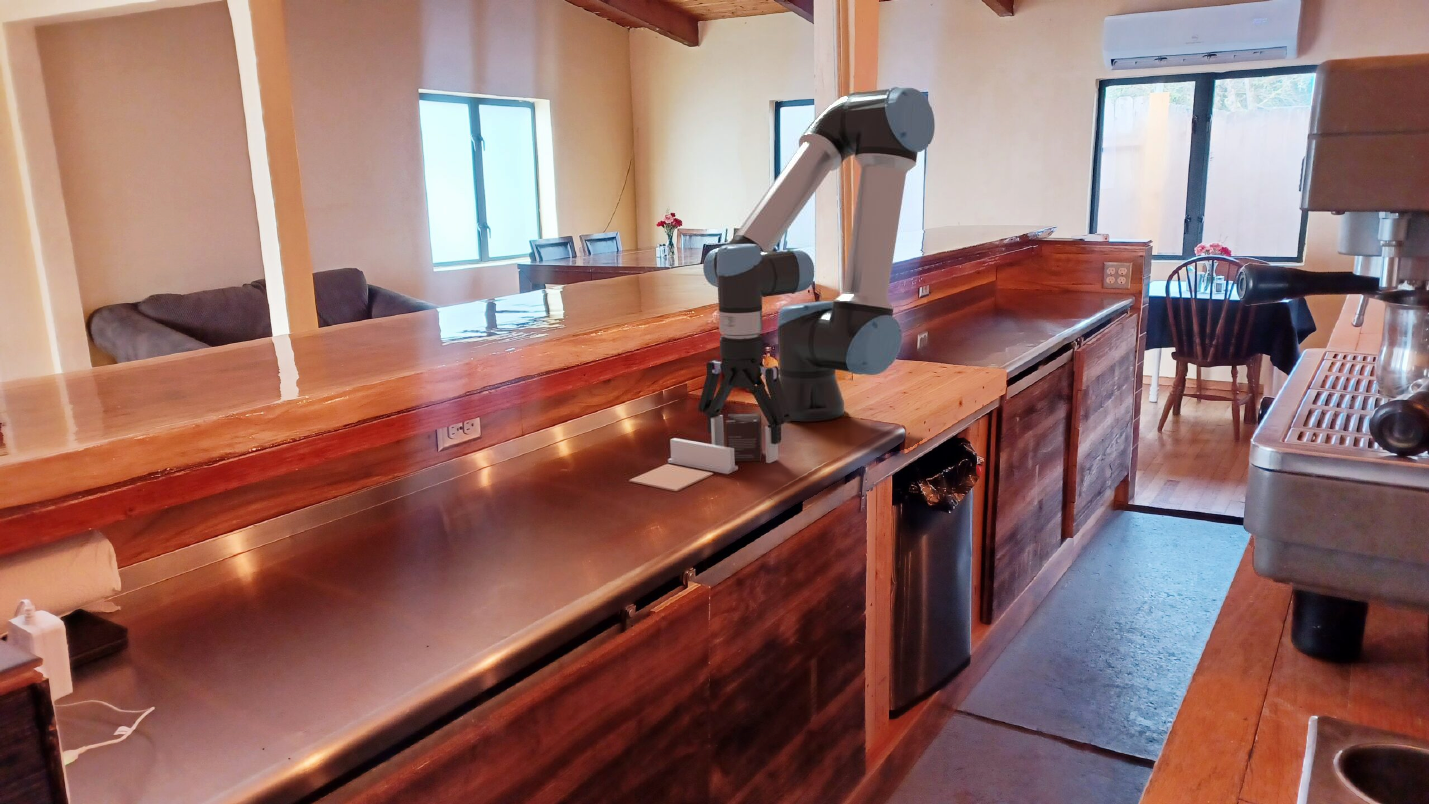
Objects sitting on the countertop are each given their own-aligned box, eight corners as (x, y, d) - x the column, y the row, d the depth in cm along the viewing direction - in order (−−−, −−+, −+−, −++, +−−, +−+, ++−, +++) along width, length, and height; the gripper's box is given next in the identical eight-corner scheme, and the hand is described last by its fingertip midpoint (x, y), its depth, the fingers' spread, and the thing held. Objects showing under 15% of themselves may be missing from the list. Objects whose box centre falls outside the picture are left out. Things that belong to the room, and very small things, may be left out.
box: (762, 452, 172) (761, 413, 170) (761, 462, 166) (760, 422, 164) (729, 452, 172) (728, 413, 170) (726, 462, 166) (725, 422, 165)
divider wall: (678, 458, 170) (677, 436, 169) (737, 469, 162) (737, 446, 161) (668, 462, 167) (666, 440, 166) (727, 474, 160) (726, 451, 159)
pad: (667, 465, 166) (667, 464, 165) (713, 474, 160) (712, 472, 160) (629, 481, 158) (629, 479, 158) (676, 491, 152) (676, 489, 152)
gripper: (674, 333, 167) (680, 451, 173) (787, 343, 154) (789, 471, 159) (700, 327, 173) (704, 441, 179) (810, 336, 160) (812, 460, 165)
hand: (744, 456), depth 169 cm, fingers open, 11 cm apart
